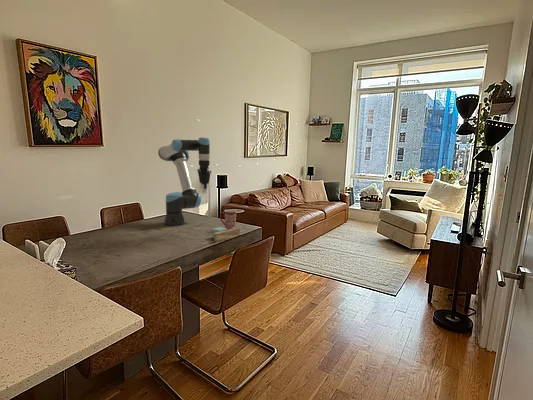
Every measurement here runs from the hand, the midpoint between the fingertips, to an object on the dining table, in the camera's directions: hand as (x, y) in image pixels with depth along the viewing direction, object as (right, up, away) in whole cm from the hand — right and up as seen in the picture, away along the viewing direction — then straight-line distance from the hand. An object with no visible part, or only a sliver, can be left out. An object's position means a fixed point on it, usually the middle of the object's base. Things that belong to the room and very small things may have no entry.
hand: (204, 193), depth 226 cm
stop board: (+18, -30, -19) cm, 39 cm away
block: (+14, -30, -18) cm, 37 cm away
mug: (+17, -26, +4) cm, 31 cm away
